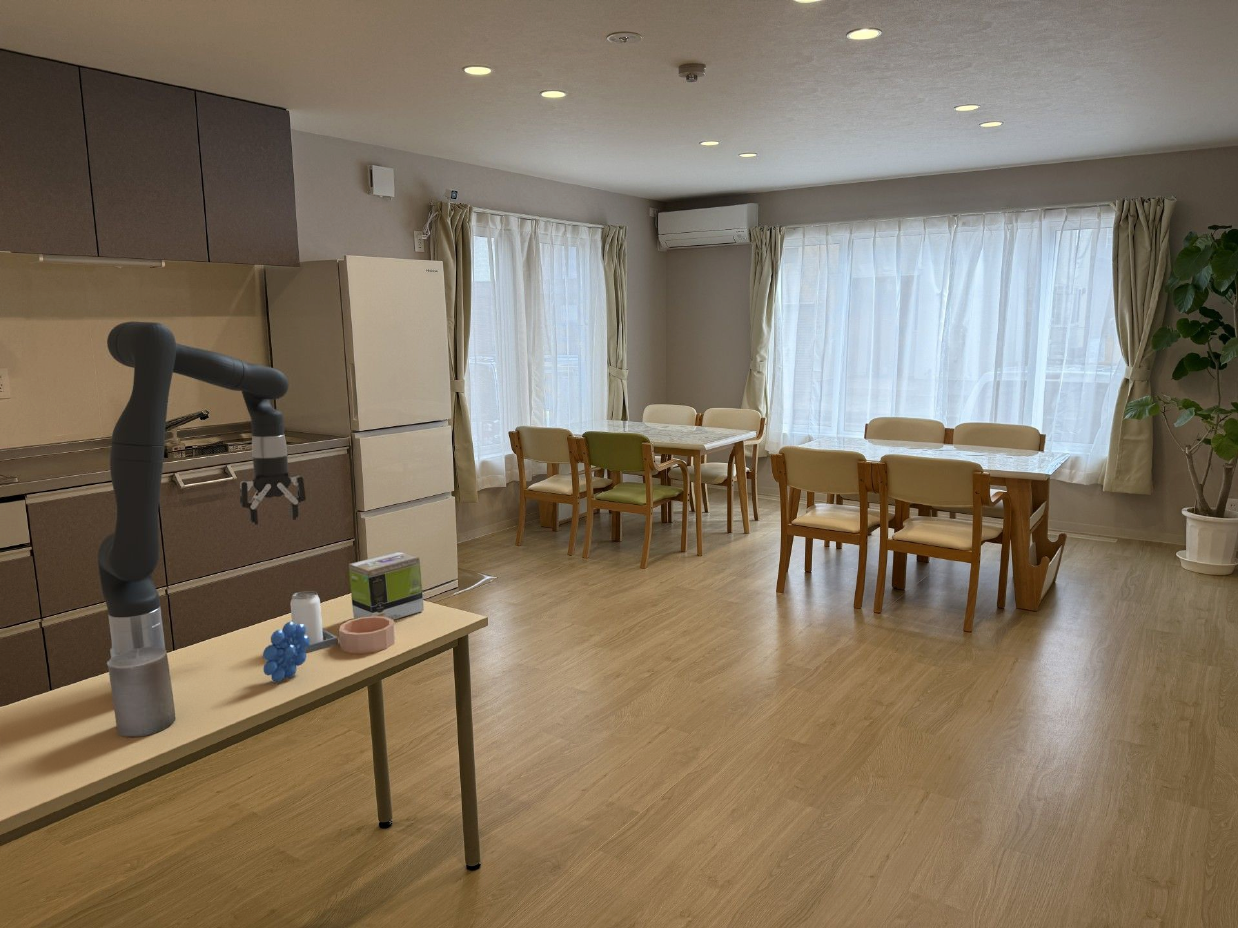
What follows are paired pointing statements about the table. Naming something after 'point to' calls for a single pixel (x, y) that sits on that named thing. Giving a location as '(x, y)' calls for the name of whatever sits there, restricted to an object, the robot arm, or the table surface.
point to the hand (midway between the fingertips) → (274, 521)
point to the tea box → (386, 586)
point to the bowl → (367, 634)
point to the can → (308, 614)
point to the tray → (323, 642)
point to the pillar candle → (141, 691)
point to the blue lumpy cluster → (286, 651)
